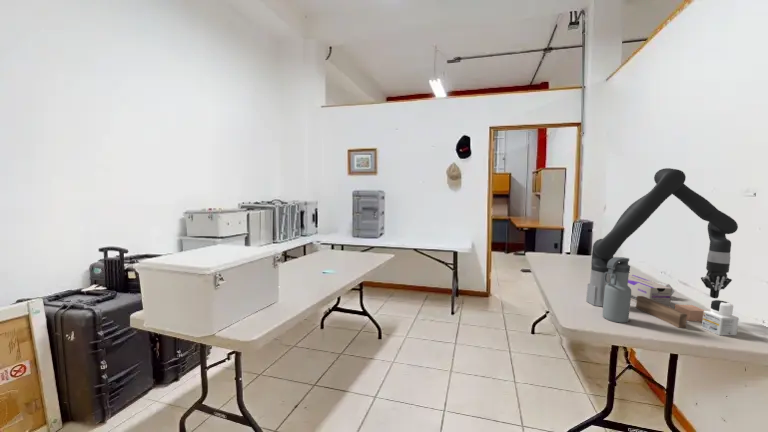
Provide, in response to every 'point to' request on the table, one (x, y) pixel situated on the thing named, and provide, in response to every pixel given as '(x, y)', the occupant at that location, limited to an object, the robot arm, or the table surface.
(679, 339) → the table surface
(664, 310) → the stop board
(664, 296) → the surgical sutures box
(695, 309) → the block
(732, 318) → the container
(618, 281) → the water bottle
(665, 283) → the die
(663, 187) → the robot arm
